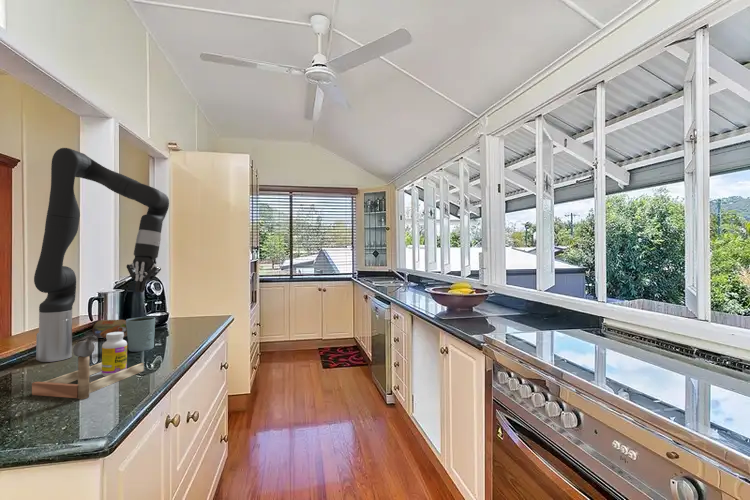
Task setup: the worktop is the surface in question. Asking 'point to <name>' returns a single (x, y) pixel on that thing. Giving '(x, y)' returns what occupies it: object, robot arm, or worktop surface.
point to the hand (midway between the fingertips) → (139, 292)
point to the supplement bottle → (114, 353)
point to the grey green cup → (140, 333)
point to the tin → (109, 327)
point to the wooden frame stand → (82, 376)
